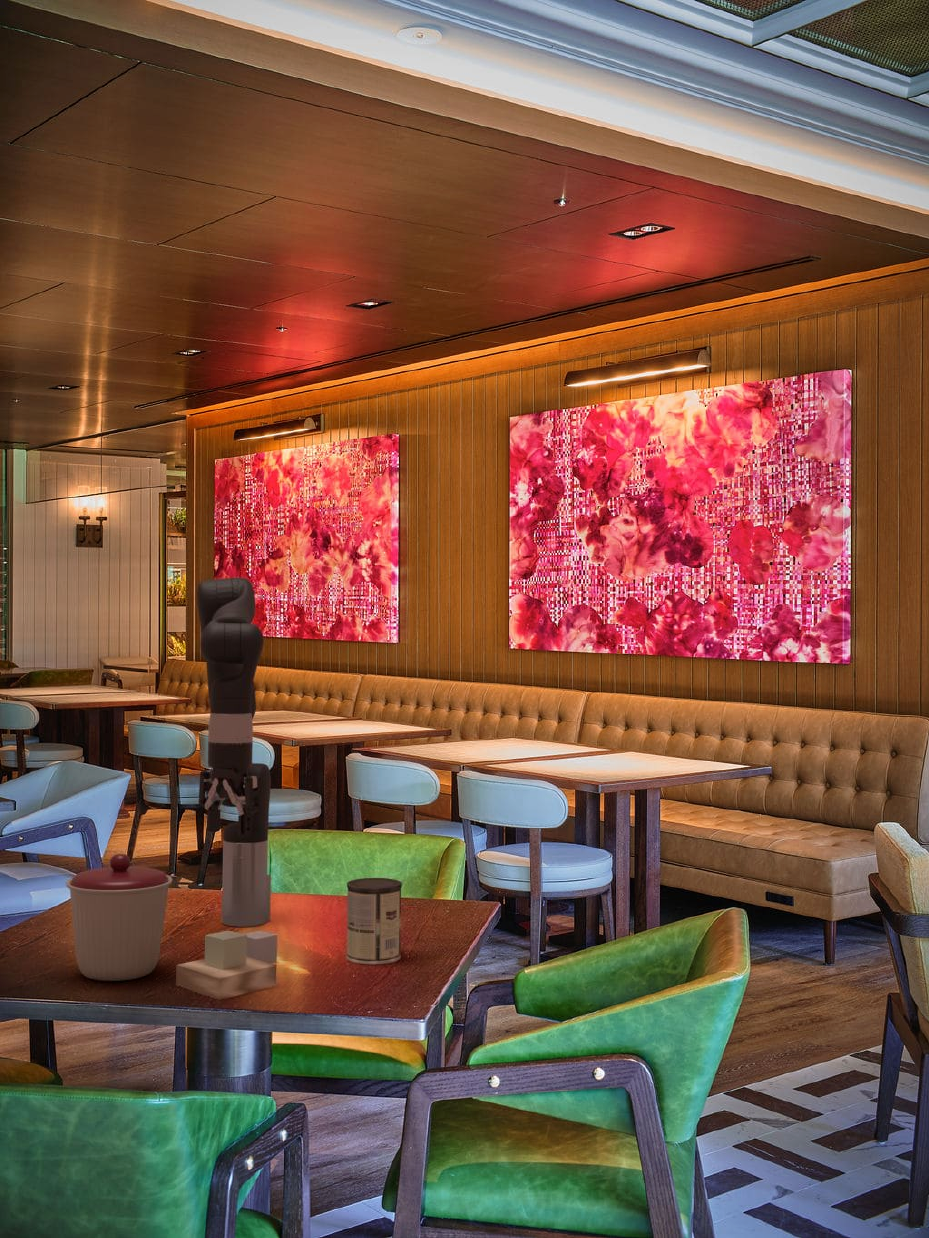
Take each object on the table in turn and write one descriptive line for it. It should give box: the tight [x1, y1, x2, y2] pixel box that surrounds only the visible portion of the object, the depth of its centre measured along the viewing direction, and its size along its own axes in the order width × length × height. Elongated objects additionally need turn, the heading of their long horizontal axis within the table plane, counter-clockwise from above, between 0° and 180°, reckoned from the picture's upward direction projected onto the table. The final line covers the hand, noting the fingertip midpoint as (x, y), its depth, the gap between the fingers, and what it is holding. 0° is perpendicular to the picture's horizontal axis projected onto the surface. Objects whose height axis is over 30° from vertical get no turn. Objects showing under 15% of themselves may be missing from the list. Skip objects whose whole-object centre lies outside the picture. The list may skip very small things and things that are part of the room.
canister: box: [65, 853, 173, 982], centre depth 221 cm, size 18×18×21 cm
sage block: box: [204, 930, 247, 970], centre depth 215 cm, size 5×5×5 cm
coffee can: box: [346, 877, 403, 966], centre depth 235 cm, size 10×10×14 cm
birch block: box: [175, 957, 277, 1001], centre depth 215 cm, size 12×12×4 cm
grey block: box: [243, 930, 278, 964], centre depth 231 cm, size 5×5×5 cm
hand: (228, 834), depth 215 cm, fingers open, 8 cm apart
